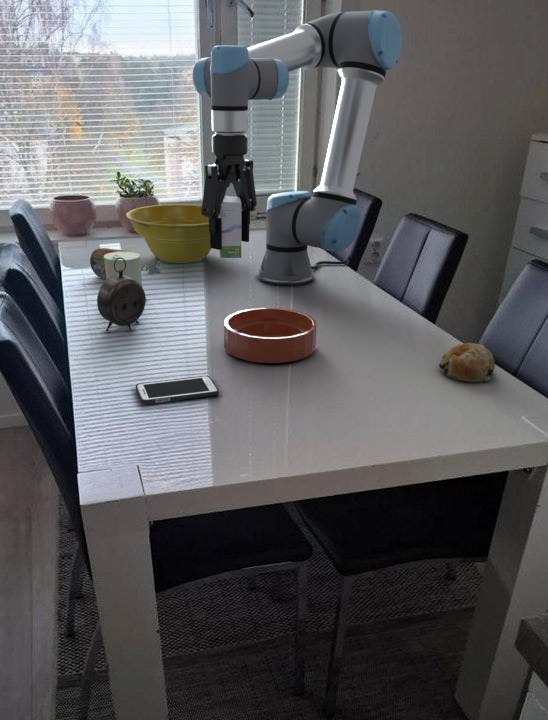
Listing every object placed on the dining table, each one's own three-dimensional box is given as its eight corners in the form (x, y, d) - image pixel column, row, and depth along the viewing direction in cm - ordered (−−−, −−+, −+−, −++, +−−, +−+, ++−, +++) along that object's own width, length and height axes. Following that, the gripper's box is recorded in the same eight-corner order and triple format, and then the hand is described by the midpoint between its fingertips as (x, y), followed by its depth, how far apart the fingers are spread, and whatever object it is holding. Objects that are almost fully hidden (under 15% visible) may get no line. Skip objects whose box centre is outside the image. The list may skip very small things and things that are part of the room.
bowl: (259, 327, 156) (259, 302, 153) (331, 346, 146) (333, 319, 143) (206, 352, 143) (205, 325, 139) (281, 374, 133) (282, 345, 129)
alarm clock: (137, 320, 159) (131, 251, 151) (151, 326, 156) (146, 255, 147) (99, 331, 153) (90, 259, 144) (112, 337, 150) (105, 264, 141)
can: (100, 303, 171) (95, 255, 164) (122, 293, 177) (118, 247, 171) (130, 308, 167) (125, 260, 161) (151, 298, 174) (147, 251, 167)
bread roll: (470, 402, 130) (496, 372, 125) (428, 371, 132) (451, 340, 127) (484, 385, 138) (509, 355, 132) (444, 355, 139) (467, 325, 134)
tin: (91, 277, 191) (87, 247, 186) (97, 274, 193) (93, 244, 189) (136, 283, 186) (134, 252, 181) (142, 280, 188) (140, 249, 184)
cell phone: (220, 395, 124) (220, 390, 123) (141, 405, 120) (141, 400, 119) (209, 379, 130) (209, 374, 129) (135, 388, 126) (134, 383, 126)
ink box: (241, 258, 148) (242, 202, 142) (219, 258, 148) (219, 202, 142) (239, 249, 155) (240, 195, 149) (218, 249, 155) (218, 195, 149)
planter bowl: (251, 254, 214) (251, 210, 207) (191, 277, 191) (190, 228, 184) (172, 241, 229) (170, 200, 221) (108, 261, 206) (103, 215, 198)
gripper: (247, 129, 148) (246, 234, 160) (180, 135, 133) (185, 251, 145) (274, 131, 144) (271, 238, 156) (209, 138, 129) (211, 256, 141)
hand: (230, 244), depth 151 cm, fingers closed on ink box, 9 cm apart
